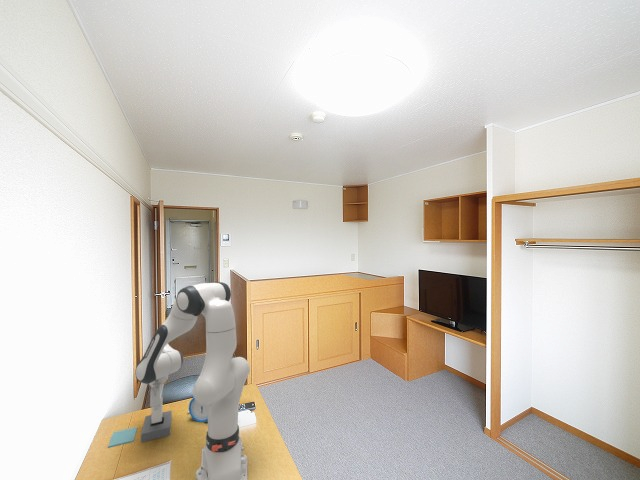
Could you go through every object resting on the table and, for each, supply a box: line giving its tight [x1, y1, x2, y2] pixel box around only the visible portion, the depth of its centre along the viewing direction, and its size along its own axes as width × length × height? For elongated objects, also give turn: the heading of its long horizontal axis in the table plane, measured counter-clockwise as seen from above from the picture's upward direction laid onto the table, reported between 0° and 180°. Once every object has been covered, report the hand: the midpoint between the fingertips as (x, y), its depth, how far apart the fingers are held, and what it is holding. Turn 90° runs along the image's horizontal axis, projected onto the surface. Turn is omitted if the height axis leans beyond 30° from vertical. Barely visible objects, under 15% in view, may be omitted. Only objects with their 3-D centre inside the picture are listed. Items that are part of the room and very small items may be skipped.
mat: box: [107, 426, 138, 449], centre depth 123 cm, size 10×9×1 cm
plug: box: [151, 394, 163, 424], centre depth 128 cm, size 4×4×12 cm
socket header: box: [140, 410, 173, 443], centre depth 128 cm, size 14×11×4 cm
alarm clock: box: [188, 396, 212, 423], centre depth 137 cm, size 13×6×15 cm, turn 83°
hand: (157, 406), depth 128 cm, fingers closed on plug, 4 cm apart
